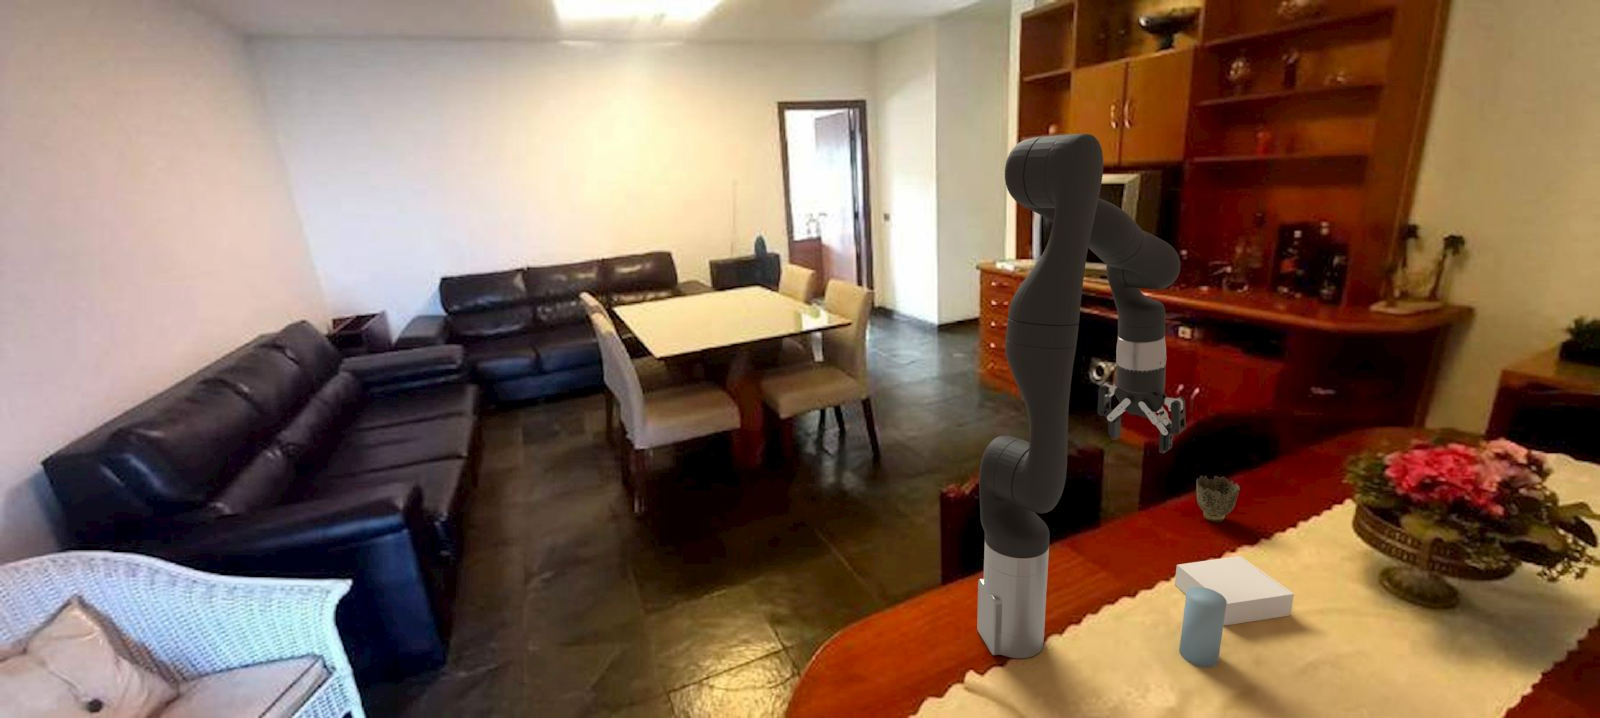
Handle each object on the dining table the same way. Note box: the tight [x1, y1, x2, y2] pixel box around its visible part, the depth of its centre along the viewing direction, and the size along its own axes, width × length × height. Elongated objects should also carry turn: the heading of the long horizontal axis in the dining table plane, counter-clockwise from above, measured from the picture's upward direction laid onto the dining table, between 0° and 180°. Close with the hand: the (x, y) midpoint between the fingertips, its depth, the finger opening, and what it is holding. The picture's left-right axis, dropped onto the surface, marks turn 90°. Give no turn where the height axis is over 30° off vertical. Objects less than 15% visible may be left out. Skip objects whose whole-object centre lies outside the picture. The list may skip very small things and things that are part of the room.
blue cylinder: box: [1178, 587, 1227, 668], centre depth 98 cm, size 5×5×10 cm
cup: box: [1195, 475, 1241, 523], centre depth 134 cm, size 8×7×8 cm
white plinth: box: [1174, 555, 1295, 627], centre depth 110 cm, size 12×11×4 cm
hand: (1139, 444), depth 119 cm, fingers open, 8 cm apart
